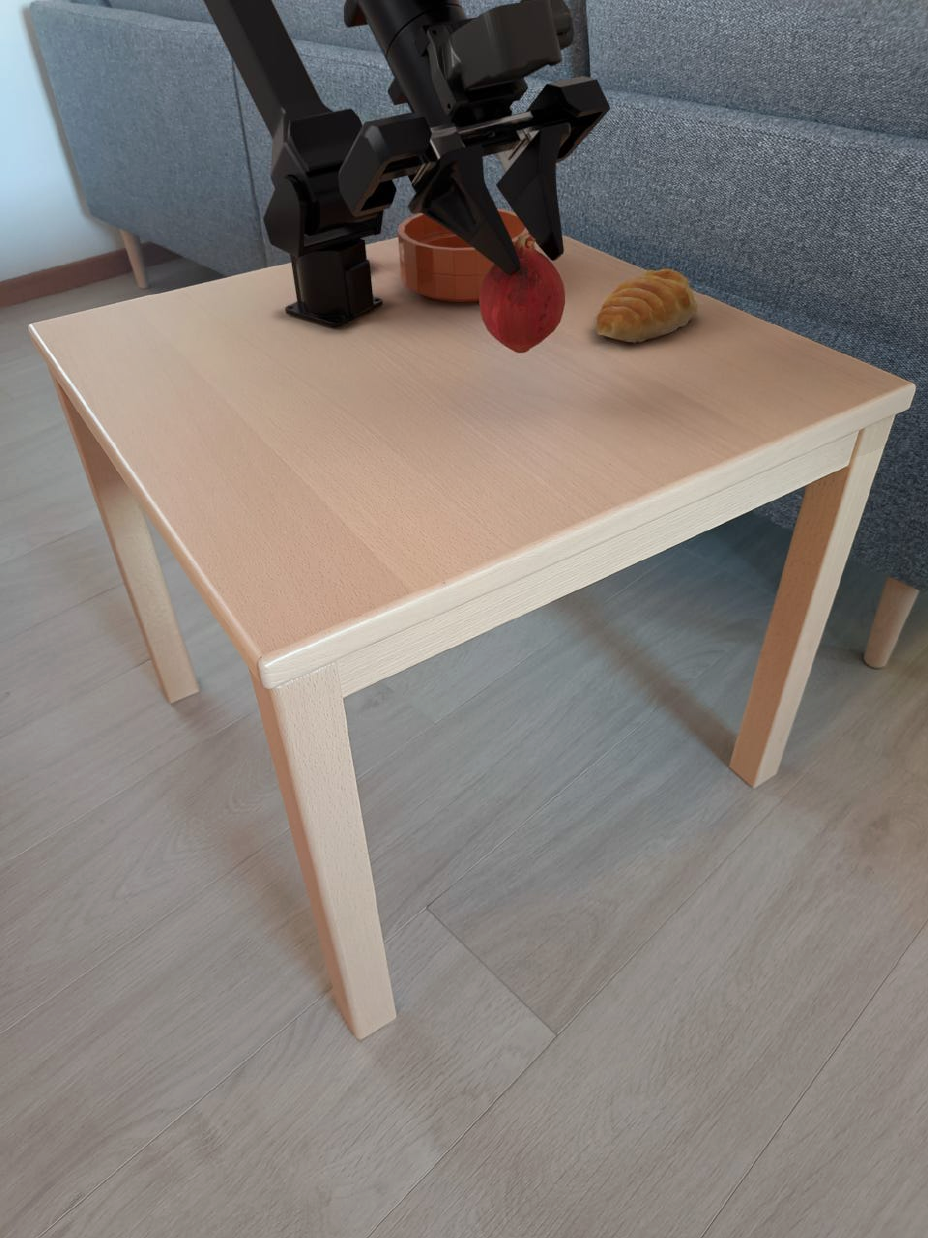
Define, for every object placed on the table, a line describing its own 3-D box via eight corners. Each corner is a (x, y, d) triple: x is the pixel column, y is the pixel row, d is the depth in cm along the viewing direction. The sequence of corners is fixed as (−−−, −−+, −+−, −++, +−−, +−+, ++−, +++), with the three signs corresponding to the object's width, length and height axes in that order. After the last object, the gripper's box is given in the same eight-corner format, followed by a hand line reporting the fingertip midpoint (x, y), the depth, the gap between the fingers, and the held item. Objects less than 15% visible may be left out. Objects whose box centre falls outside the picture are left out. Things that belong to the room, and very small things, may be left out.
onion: (555, 375, 60) (563, 254, 55) (472, 367, 61) (471, 248, 56) (566, 338, 64) (574, 223, 59) (487, 331, 65) (488, 218, 60)
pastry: (643, 356, 72) (647, 309, 69) (574, 335, 75) (576, 290, 73) (701, 318, 77) (707, 273, 75) (634, 300, 81) (638, 257, 78)
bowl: (375, 288, 84) (370, 234, 81) (452, 250, 92) (450, 198, 88) (481, 316, 79) (480, 259, 75) (554, 273, 86) (556, 219, 83)
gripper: (344, -53, 45) (483, 229, 46) (603, -79, 54) (715, 159, 55) (286, 96, 55) (402, 326, 56) (513, 54, 64) (610, 254, 65)
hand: (537, 264), depth 58 cm, fingers closed on onion, 3 cm apart
